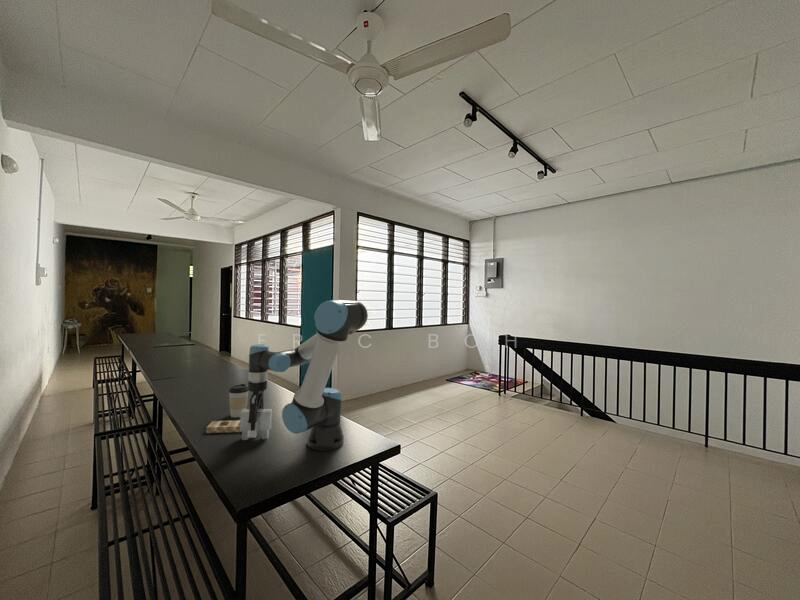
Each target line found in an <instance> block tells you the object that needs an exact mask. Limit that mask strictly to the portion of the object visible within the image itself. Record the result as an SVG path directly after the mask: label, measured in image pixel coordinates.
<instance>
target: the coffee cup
mask: <svg viewBox="0 0 800 600" xmlns="http://www.w3.org/2000/svg"><path fill="white" fill-rule="evenodd" d="M228 392H229V397H228V399H229V411H230V412H229V413H230V417H231V418H235V419H236V418H237V417H238V418H240V417H241V411H242V410H243V409H247V406H248V401H249V400H248V399H249V392H250V391H249V390H248V385H246V384H244V383H241V384H235V385H232V386H231V388H229V391H228Z"/></svg>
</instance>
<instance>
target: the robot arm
mask: <svg viewBox="0 0 800 600" xmlns="http://www.w3.org/2000/svg"><path fill="white" fill-rule="evenodd" d="M368 316H369V313H368V311H367V308H366V306H365V305H364V304H363V303H362V302H360V301H357V300H353V299H350V300H349V299H345V300H343V299H331V300H326V301H324V302H322V303H320V305H318V307H317V309H316V311H315V312H314V316H313V317H314V320H313V321H314V322H315V323H314V325H315V327H316V333H315V334H314V335H312V336H310V338H308V339H307V340H305V341H304V342H302V344H300V345H298V346H297V347H295V348H293V349H289V350H288V349H287V350H282V351H270V350H269V349H270V348H269V346H268V345H267V344H261V343H260V344H259V343H258V344H252V345H251V346H250V347H249V354H248V372H247V374H246V375H247V376H248V379H247V380H248V383H247V387H248V390H249V391H248V392H252V394H251V397H250V399H249V409H250V410H249V421H248V423H250V433H249V438H250V439H253V438H255V439H256V438H257V436H258V434H257V432H258V430H257V413H258V409H265V404H264V401H265V399H264V393H265V391H266V390H267V389H268V371H272V372H275V373H284V372H286V371H287V370H288V369H289V368H294V367H298V366H302V365H305V364H308V366H307V369H306V372H305V375H304V378H303V381H302V385H301V387H300V389H299V390H297V391H295V393H294V395H293V398H292V401H291V402H290V403H287V404H286V405H284V406H283V407H282V412H281V418H282V422H283V424H284V427H285V428H286V429H287V431H289V432H290V433H292V434H294V435H295V434H296V435H297V434H301V433H305V432H307V431H308V430H310V431H309V433H308V436H307V442H306V443H307V444H306V445H307V447H308V448H310V449H312V450H315V451H320V452H326V451H333V450H336V449H339V448H340V447H342V445H343V444H344V440H345V439H344V433H343V429H342V426H341V415H342V413H341V412H342V411H341V410H342V392H341V390H339V389H337V388H331V387H326V385H327V383H328V380H329V378H330V375H331V372H332V369H333V367H334V364H335V361H336V358H337V356H338V352H339V350H340V348H341V344H342V343H345V342H346V341H347V339H348V338H349V335H352V334H354V333H356V332H357V331H359V330H360V329H361V328H363V327H364V326H365V325H366V323H367V321H368ZM249 438H248V439H249Z"/></svg>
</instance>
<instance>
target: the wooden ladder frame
mask: <svg viewBox="0 0 800 600" xmlns="http://www.w3.org/2000/svg"><path fill="white" fill-rule="evenodd" d="M214 433H216V434H217V433H242V431H240V420H237V419H236V420H212V421H211V422H210V423H209V424H208V425H207V426H206V434H214Z"/></svg>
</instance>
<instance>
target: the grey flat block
mask: <svg viewBox="0 0 800 600" xmlns="http://www.w3.org/2000/svg"><path fill="white" fill-rule="evenodd" d="M249 410H250V408H246V409H243V410H242V411H241V417H239V418H240V431H242V432H241V441H246V440H249V433H250V423H248V421H249ZM272 417H273V409H272V408H264V409H258V413H257V431H261V440H268V439H269V436H270V430H271V429H272V423H273V422H272Z"/></svg>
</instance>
